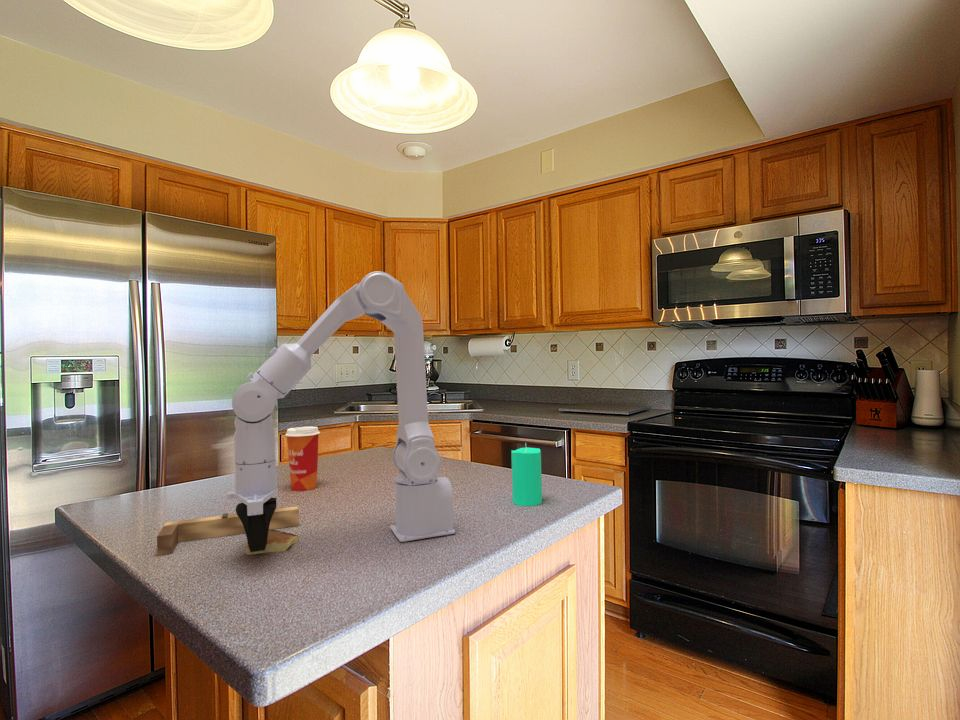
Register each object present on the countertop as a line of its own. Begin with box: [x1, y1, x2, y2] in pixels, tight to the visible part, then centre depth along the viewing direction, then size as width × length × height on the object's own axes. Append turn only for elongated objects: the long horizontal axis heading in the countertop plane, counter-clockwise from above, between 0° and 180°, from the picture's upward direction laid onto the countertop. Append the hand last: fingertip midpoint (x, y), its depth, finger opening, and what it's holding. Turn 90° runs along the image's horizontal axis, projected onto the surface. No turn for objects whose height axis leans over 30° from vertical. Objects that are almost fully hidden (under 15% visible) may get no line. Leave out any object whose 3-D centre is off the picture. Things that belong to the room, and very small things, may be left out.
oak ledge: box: [156, 505, 300, 557], centre depth 87 cm, size 21×8×3 cm, turn 112°
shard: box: [245, 529, 300, 556], centre depth 85 cm, size 11×8×2 cm
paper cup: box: [284, 425, 321, 492], centre depth 121 cm, size 8×8×14 cm
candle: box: [510, 442, 543, 507], centre depth 104 cm, size 6×6×12 cm
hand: (257, 549), depth 79 cm, fingers closed
